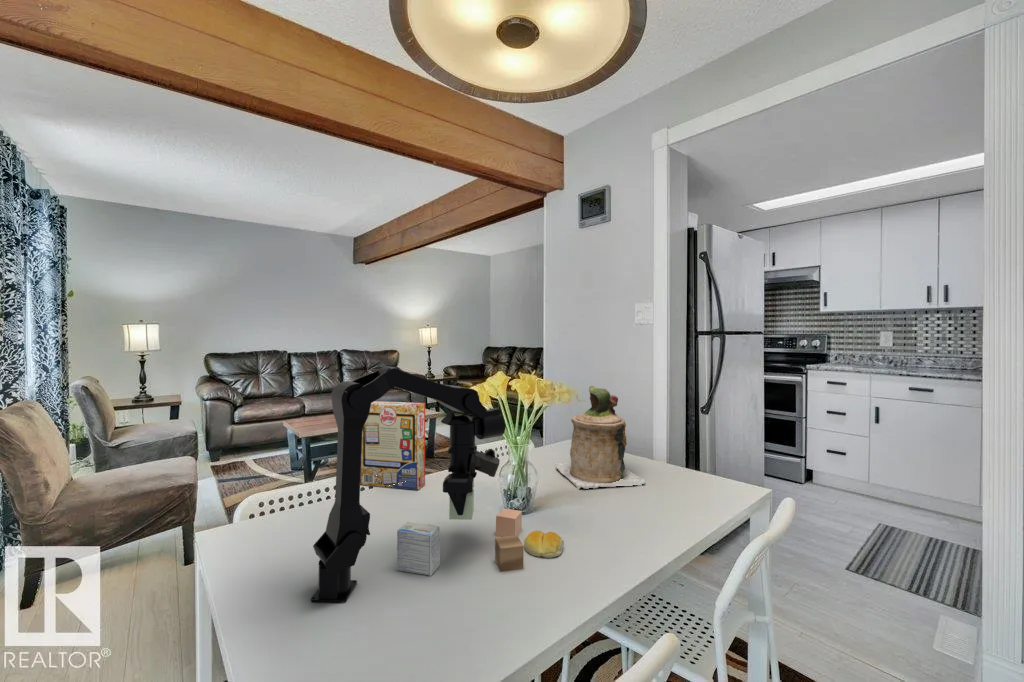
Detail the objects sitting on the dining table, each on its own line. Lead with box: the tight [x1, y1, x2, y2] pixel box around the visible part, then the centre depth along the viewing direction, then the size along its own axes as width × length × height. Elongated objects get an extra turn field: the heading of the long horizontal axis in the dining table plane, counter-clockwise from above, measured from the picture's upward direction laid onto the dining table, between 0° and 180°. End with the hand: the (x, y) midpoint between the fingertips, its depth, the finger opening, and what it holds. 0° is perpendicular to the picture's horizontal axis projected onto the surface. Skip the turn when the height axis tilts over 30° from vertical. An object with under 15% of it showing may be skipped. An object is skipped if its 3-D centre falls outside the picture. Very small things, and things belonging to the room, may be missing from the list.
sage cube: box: [448, 488, 475, 521], centre depth 100 cm, size 5×5×5 cm
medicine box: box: [396, 521, 441, 577], centre depth 92 cm, size 8×4×9 cm, turn 74°
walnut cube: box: [494, 535, 525, 573], centre depth 94 cm, size 5×5×5 cm
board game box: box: [360, 400, 426, 491], centre depth 143 cm, size 20×6×27 cm, turn 77°
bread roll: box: [523, 530, 565, 559], centre depth 101 cm, size 8×9×4 cm
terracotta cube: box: [495, 508, 523, 537], centre depth 109 cm, size 5×5×5 cm
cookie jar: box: [554, 385, 646, 490], centre depth 154 cm, size 25×25×32 cm
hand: (461, 510), depth 100 cm, fingers closed on sage cube, 5 cm apart
